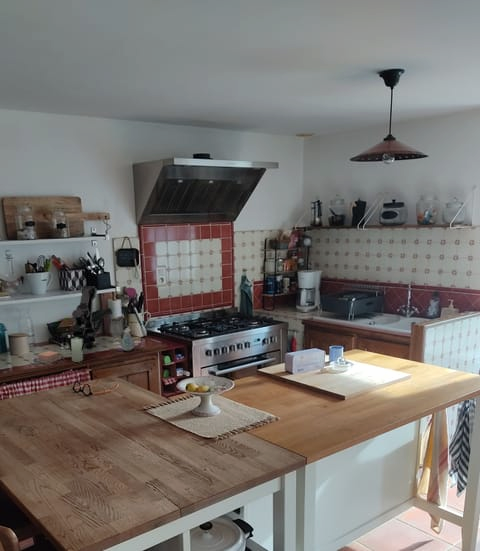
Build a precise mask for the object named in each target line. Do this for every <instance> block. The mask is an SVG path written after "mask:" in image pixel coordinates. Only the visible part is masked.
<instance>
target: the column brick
mask: <svg viewBox="0 0 480 551" xmlns="http://www.w3.org/2000/svg"><path fill="white" fill-rule="evenodd" d="M82 346H83V339H82V338H79V337H75V338H72V339H71V349H72V351H71V362H72V361H74V362H79V363H81V362H80V361H82V360H83V361H84V352H83V351H84V350H83V351H82ZM83 361H82V362H83Z"/></svg>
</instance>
